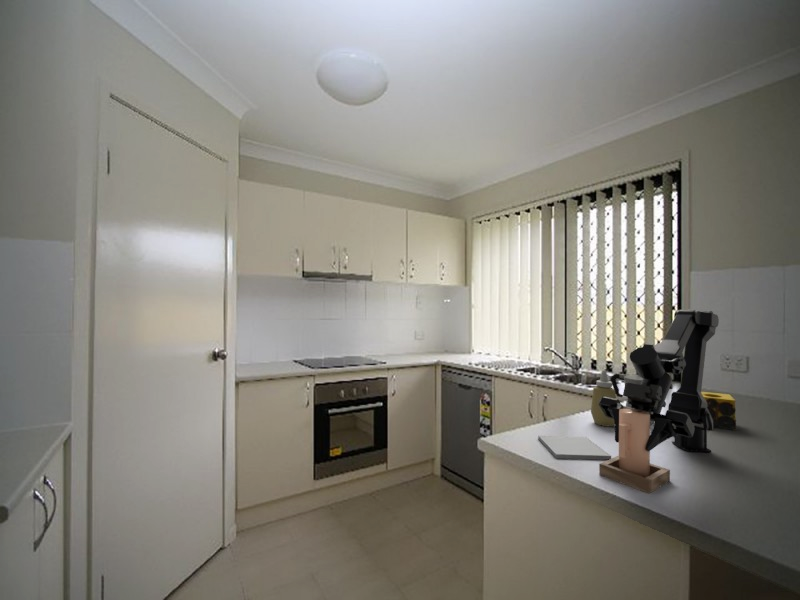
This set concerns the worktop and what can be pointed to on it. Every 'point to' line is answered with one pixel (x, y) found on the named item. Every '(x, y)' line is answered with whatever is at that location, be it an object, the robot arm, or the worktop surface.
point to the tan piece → (634, 441)
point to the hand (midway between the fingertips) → (631, 445)
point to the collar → (644, 484)
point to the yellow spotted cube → (721, 410)
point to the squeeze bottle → (598, 392)
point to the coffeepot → (627, 378)
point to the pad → (573, 447)
